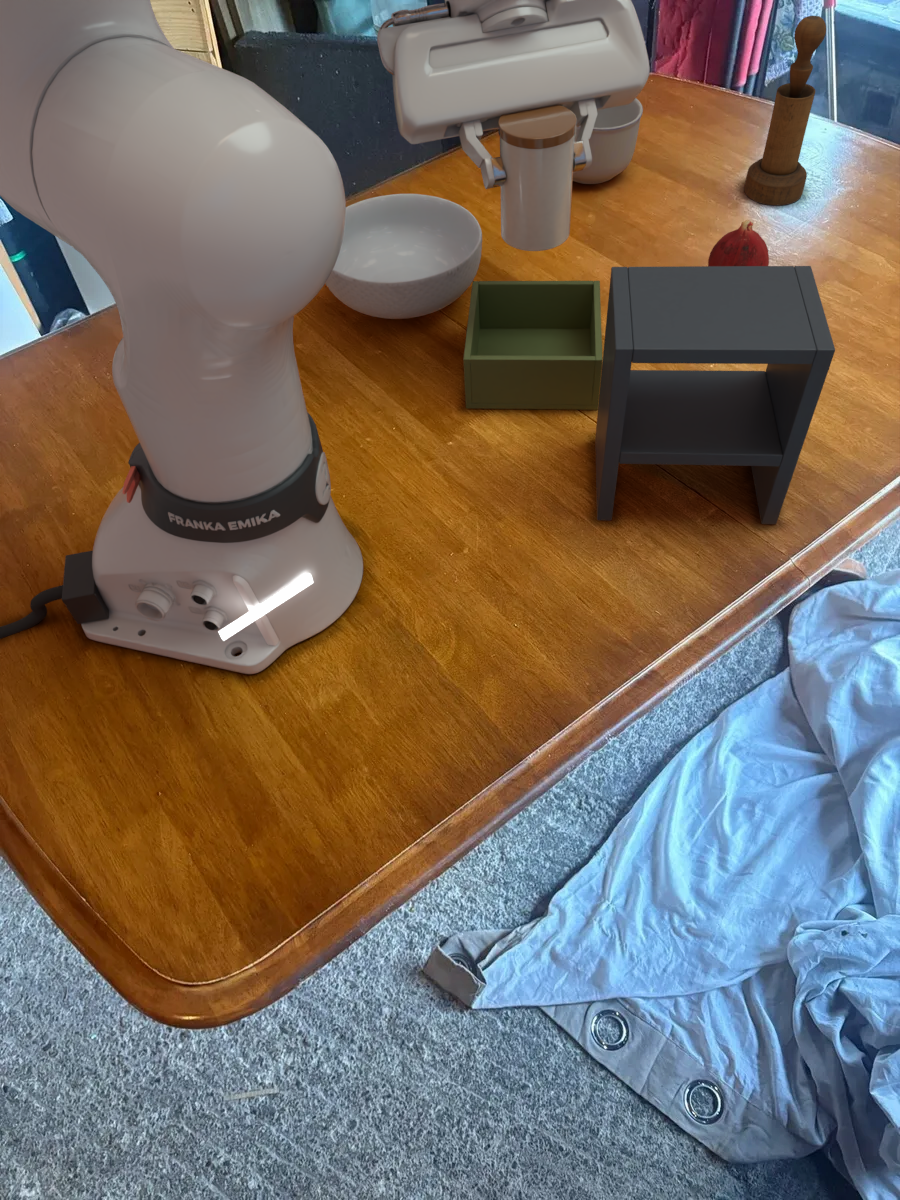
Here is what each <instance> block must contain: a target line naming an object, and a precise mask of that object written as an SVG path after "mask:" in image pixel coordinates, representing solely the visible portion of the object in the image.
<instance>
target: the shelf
mask: <svg viewBox="0 0 900 1200" xmlns="http://www.w3.org/2000/svg"><path fill="white" fill-rule="evenodd" d="M827 320H828V319H827V316H826V314H825V310H824V307H823V303H822V299H821V295H820V292H819V290H818V286H817V283H816V279H815V275H814V272H813V269H812V266H811V265H768V266H708V265H705V266H703V265H701V266H699V265H697V266H695V265H694V266H692V265H691V266H611V269H610V278H609V288H608V299H607V311H606V321H605V333H604V342H603V351H602V370H601V381H600V391H599V402H598V410H597V414H596V415H597V416H596V426H595V438H594V441H595V442H594V445H595V449H594V450H595V479H596V480H595V486H596V487H595V489H596V492H595V493H596V520H597V521H606V522H607V521H612V519H613V513H614V505H615V497H616V489H617V481H618V474H619V473H618V472H619V467H620V465H673V466H679V465H680V466H683V465H684V466H729V467H730V466H735V467H737V466H739V467H751V474H752V479H753V484H754V490H755V496H756V502H757V507H758V513H759V518H760V524H762V525H777V522H778V519H779V517H780V513H781V511H782V508H783V505H784V502H785V499H786V496H787V495H788V494H787V493H788V491H789V487H790V485H791V482H792V479H793V476H794V473H795V469H796V468H797V464H798V461H799V459H800V455H801V452H802V449H803V446H804V444H805V440H806V437H807V435H808V431H809V428H810V425H811V423H812V420H813V417H814V414H815V411H816V408H817V405H818V402H819V399H820V397H821V395H822V394H821V393H822V391H823V388H824V384H825V382H826V379H827V377H828V376H827V375H828V372H829V370H830V367H831V364H832V361H833V357H834V356H835V353H836V348H835V344H834V340H833V337H832V334H831V331H830V326H829V323H828V321H827ZM632 364H701V365H702V364H712V365H713V364H714V365H715V364H721V365H723V364H724V365H725V364H727V365H729V364H730V365H731V364H732V365H756V364H757V365H766V369H765V370H687V369H686V370H685V369H684V370H682V369H681V370H679V369H678V370H677V369H676V370H673V369H671V370H669V369H668V370H667V369H666V370H665V369H632Z"/></svg>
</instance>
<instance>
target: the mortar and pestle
mask: <svg viewBox="0 0 900 1200" xmlns="http://www.w3.org/2000/svg"><path fill="white" fill-rule="evenodd" d="M826 34H827V25H826V22H825V20H824V18H823V17H821V16H819V15H808V16H805V17H804V18H801V20H800V21H799V22H798V23H797V26H796V27H795V30H794V35H793V38H794V43H795V47H796V51H797V55H796V59H795V61H794V62H792V63H791V64H790V67H789V82H788V83H784V84H782V85H780V86H779V87H778V88H777V89H776V93H775V97H774V102H773V107H772V113H771V118H770V122H769V127H768V132H767V136H766V137H767V138H766V142H765V144H764V145H765V146H764V150H763V154H762V157H761V158H760V159H757V160H756V161H755V162H753V163H752V164H751V165H750V166H749V167H748V169H747V173H746V176H745V181H744V186H743V192H744V194H745V195H746V196H747V197H748V198H749V199H750V200H752V201H754V202H756V203H758V204H761V205H767V206H786V205H789V204H793V203H795V202H797V201H798V200H800V199H801V198H802V196H803V194H804V190H805V185H806V181H807V177H808V173H807V170H806V169H805V168H804V167H803V166H802V164H801V163H800V162H799V160H800V156H801V151H802V148H803V142H804V138H805V135H806V130H807V126H808V123H809V119H810V114H811V110H812V107H813V103H814V99H815V95H816V89H815V88H814V86H813V85H811V84H808V80H809V79H810V76H811V74H812V72H813V70H814V65H813V64H812V58H813V54H814V53H815V52H816V50H817V49H818V48H819V47H820V45H821V44H822V43H823V41H824V39H825V37H826Z"/></svg>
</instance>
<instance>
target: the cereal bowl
mask: <svg viewBox="0 0 900 1200" xmlns="http://www.w3.org/2000/svg"><path fill="white" fill-rule="evenodd" d="M482 250H483V232H482V228H481V225H480V223H479V221H478V219H477V218H476V217H475V216H474V215H473V213H472V212H470V210H468V209H466V208H465V207H464V206H462V205H461V204H458V203H456V202H454V201H451V200H450V199H446V198H443V197H440V196H434V195H428V194H420V193H394V194H392V193H391V194H386V195H379V196H374V197H369V198H366V199H363V200H360V201H357V202H354V203H352V204H350V205H348V206H346V218H345V230H344V236H343V241H342V245H341V249H340V253H339V256H338V258H337V261H336V264H335V266H334V268H333V270H332V272H331V274H330V276H329V278H328V279H327V281H326V283H325V286H326V287H327V288H328V290H329V291H330V292H331V293H332V294H333V296H334V297H336V298H337V300H338V301H340V302H341V303H342V304H343V305H346V306H347V307H348V308H350V309H352V310H353V311H355V312H358V313H360V314H364V315H367V316H371V317H372V318H374V317H375V318H379V319H388V320H390V319H391V320H402V319H413V318H418V317H423V316H427V315H429V314H433V313H435V312H438V311H440V310H442V309H444V308H446V307H447V306H449V305H451V304H452V303H454V302H455V301H456V300H457V299H459V298H461V296H462V295H463V294H464V293H465V292H466V291H467V290H468V288H470V286H472V283H473V281H475V280H474V279H475V277H476V276H477V273H478V271H479V268H480V264H481V259H482Z"/></svg>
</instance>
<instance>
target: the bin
mask: <svg viewBox="0 0 900 1200" xmlns="http://www.w3.org/2000/svg"><path fill="white" fill-rule="evenodd" d="M601 302H602V301H601V281H600V280H473V281H472V283H471V292H470V300H469V309H468V316H467V317H468V318H467V325H466V332H465V333H466V334H465V343H464V349H463V350H464V351H463V358H462V361H463V376H464V377H463V379H464V395H465V398H464V399H465V409H473V410H475V409H477V410H479V409H480V410H481V409H485V410H486V409H487V410H489V409H490V410H570V411H571V410H573V411H574V410H575V411H576V410H577V411H582V410H583V411H584V410H585V411H598V404H599V394H600V383H601V373H602V362H603V336H602V334H603V333H602V307H601V306H602V305H601Z"/></svg>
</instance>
